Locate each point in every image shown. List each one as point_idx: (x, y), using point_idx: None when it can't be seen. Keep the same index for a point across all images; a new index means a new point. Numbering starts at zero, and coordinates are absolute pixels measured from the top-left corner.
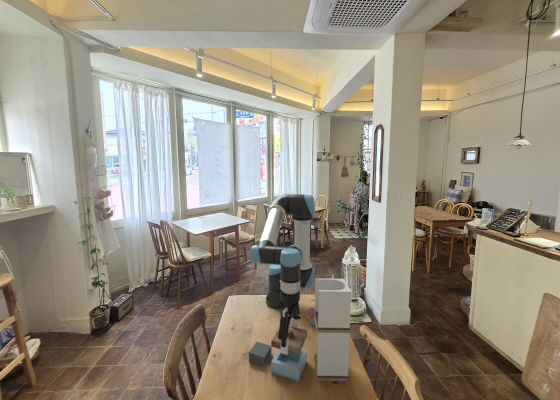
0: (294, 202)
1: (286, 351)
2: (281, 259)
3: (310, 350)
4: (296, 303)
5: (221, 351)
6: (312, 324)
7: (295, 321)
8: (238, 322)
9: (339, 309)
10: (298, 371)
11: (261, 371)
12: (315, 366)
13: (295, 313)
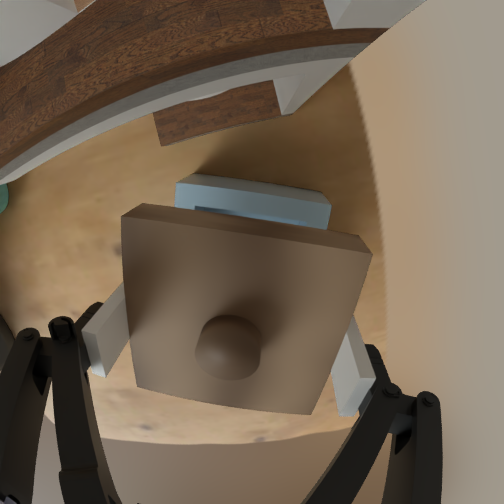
0: None
1: None
2: None
3: (125, 170)
4: (9, 468)
5: (241, 433)
6: (7, 197)
7: (104, 343)
8: (118, 418)
9: None
10: (330, 205)
11: None
12: (228, 127)
13: (90, 422)
